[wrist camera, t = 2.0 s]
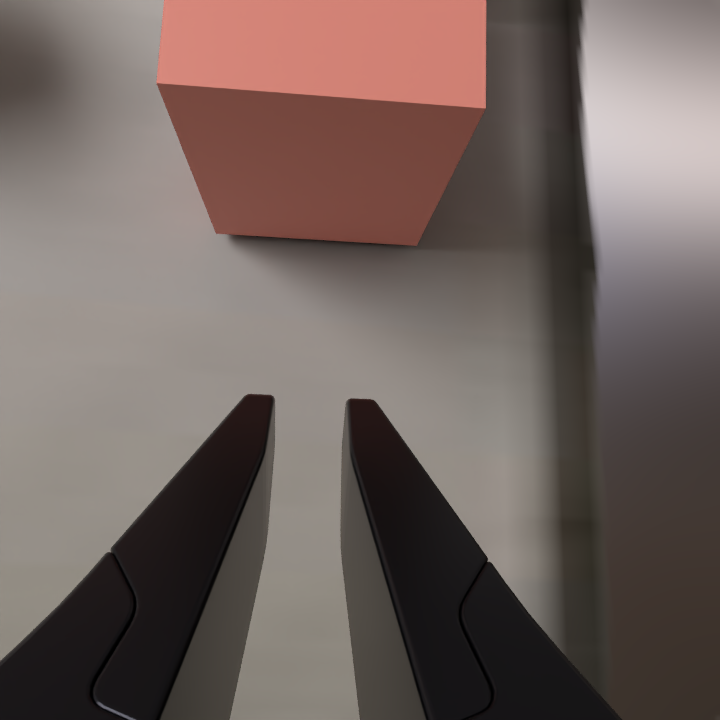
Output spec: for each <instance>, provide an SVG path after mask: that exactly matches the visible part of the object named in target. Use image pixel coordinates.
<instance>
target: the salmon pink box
mask: <svg viewBox="0 0 720 720" xmlns="http://www.w3.org/2000/svg"><path fill="white" fill-rule="evenodd" d="M157 85H158V88H159V90H160V93H161V96H162V98H163V101H164V103H165V106H166V108H167V111H168V113H169V116H170V118H171V121H172V123H173V126H174V128H175V131H176V133H177V136H178V138H179V141H180V144H181V146H182V149H183V151H184V154H185V156H186V159H187V161H188V164H189V166H190V169H191V171H192V174H193V176H194V179H195V181H196V184H197V186H198V189H199V192H200V194H201V197H202V199H203V202H204V204H205V207H206V209H207V212H208V214H209V217H210V219H211V222H212V224H213V227H214V229H215V232H216V234H232V235H249V236H265V237H281V238H298V239H314V240H331V241H347V242H363V243H380V244H396V245H413V246H417V244H418V242H419V240H420V238H421V236H422V234H423V232H424V230H425V228H426V226H427V224H428V222H429V220H430V218H431V216H432V214H433V212H434V210H435V208H436V206H437V204H438V203H439V201H440V199H441V197H442V195H443V193H444V191H445V189H446V187H447V185H448V183H449V181H450V179H451V177H452V175H453V173H454V171H455V169H456V167H457V165H458V163H459V161H460V159H461V157H462V155H463V153H464V151H465V149H466V147H467V145H468V143H469V141H470V139H471V137H472V135H473V133H474V131H475V129H476V127H477V125H478V123H479V121H480V119H481V117H482V115H483V113H484V111H485V109H486V0H164V8H163V19H162V30H161V41H160V51H159V62H158V73H157Z"/></svg>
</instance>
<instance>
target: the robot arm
mask: <svg viewBox="0 0 720 720" xmlns="http://www.w3.org/2000/svg"><path fill="white" fill-rule="evenodd" d="M274 448H275V398H274V397H273V396H272V395H261V394H247V395H246V396H244V397H243V398H242V400H241V401H240V402H239V403H238V404H237V405H236V406H235V408H234V409H233V410H232V411H231V412H230V413H229V414H228V416H227V417H226V418H225V419H224V420H223V421H222V422H221V423H220V425H219V426H218V427H217V428H216V429H215V430H214V431H213V433H212V434H211V435H210V436H209V437H208V438H207V439H206V441H205V442H204V443H203V444H202V445H201V446H200V447H199V449H198V450H197V451H196V452H195V453H194V454H193V455H192V456H191V458H190V459H189V460H188V461H187V462H186V463H185V464H184V466H183V467H182V468H181V469H180V470H179V471H178V472H177V474H176V475H175V476H174V477H173V478H172V479H171V480H170V482H169V483H168V484H167V485H166V486H165V487H164V488H163V489H162V491H161V492H160V493H159V494H158V495H157V496H156V497H155V499H154V500H153V501H152V502H151V503H150V504H149V505H148V507H147V508H146V509H145V510H144V511H143V512H142V513H141V515H140V516H139V517H138V518H137V519H136V520H135V521H134V522H133V524H132V525H131V526H130V527H129V528H128V529H127V530H126V532H125V533H124V534H123V535H122V536H121V537H120V538H119V540H118V541H117V542H116V543H115V544H114V545H113V546H112V548H111V552H107V553H106V554H105V555H104V556H103V557H102V558H101V560H100V561H99V562H98V563H97V564H96V565H95V567H94V568H93V569H92V570H91V571H90V572H89V573H88V574H87V576H86V577H85V578H84V579H83V580H82V581H81V582H80V583H79V584H78V585H77V586H76V587H75V588H74V590H73V591H72V592H71V593H70V594H69V595H68V596H67V597H66V598H65V599H64V600H63V601H62V602H61V603H60V605H59V606H58V607H57V608H55V609H54V610H53V611H52V612H51V613H50V614H49V615H48V616H47V617H46V618H45V619H44V620H43V621H42V622H41V623H40V624H39V625H38V626H37V627H36V628H35V629H34V630H33V631H32V632H31V633H30V634H29V635H28V636H27V637H26V638H24V639H23V640H22V641H21V642H20V643H19V644H18V645H17V646H16V647H15V648H14V649H13V650H12V651H11V652H9V653H8V654H7V655H6V656H5V657H4V658H3V659H2V660H1V661H0V720H229V719H230V715H231V710H232V705H233V701H234V696H235V691H236V686H237V682H238V677H239V672H240V668H241V663H242V658H243V654H244V649H245V644H246V639H247V635H248V630H249V625H250V621H251V616H252V611H253V607H254V602H255V597H256V592H257V588H258V583H259V578H260V574H261V569H262V564H263V560H264V554H265V548H266V542H267V534H268V523H269V511H270V498H271V486H272V474H273V461H274ZM341 555H342V566H343V574H344V583H345V592H346V601H347V610H348V619H349V627H350V636H351V645H352V654H353V663H354V671H355V680H356V689H357V698H358V707H359V715H360V720H622V719H621V718H620V717H619V716H618V714H617V713H616V712H615V711H614V710H613V709H612V708H611V707H610V705H609V704H608V703H607V702H606V701H605V700H604V699H603V698H602V696H601V695H600V694H599V693H598V692H597V691H596V690H595V689H594V688H593V686H592V685H591V684H590V683H589V682H588V681H587V680H586V679H585V677H584V676H583V675H582V674H581V673H580V672H579V671H578V670H577V668H576V667H575V666H574V665H573V664H572V663H571V662H570V661H569V660H568V658H567V657H566V656H565V655H564V654H563V653H562V652H561V651H560V649H559V648H558V647H557V646H556V645H555V644H554V642H553V641H552V640H551V639H550V638H549V637H548V635H547V634H546V633H545V632H544V631H543V630H542V628H541V627H540V626H539V625H538V624H537V622H536V621H535V620H534V619H533V618H532V617H531V615H530V614H529V613H528V612H527V610H526V609H525V608H524V606H523V605H522V604H521V602H520V601H519V600H518V598H517V597H516V596H515V594H514V593H513V592H512V591H511V589H510V588H509V587H508V585H507V584H506V583H505V581H504V580H503V578H502V577H501V576H500V574H499V573H498V571H497V570H496V568H495V567H494V566H493V564H492V563H491V562H487V561H488V558H487V556H486V555H485V553H484V552H483V551H482V549H481V548H480V546H479V545H478V544H477V542H476V541H475V539H474V538H473V537H472V535H471V534H470V532H469V531H468V530H467V528H466V527H465V525H464V524H463V523H462V521H461V520H460V519H459V517H458V516H457V514H456V513H455V512H454V510H453V509H452V507H451V506H450V505H449V503H448V502H447V500H446V499H445V498H444V496H443V495H442V493H441V492H440V491H439V489H438V488H437V486H436V485H435V484H434V482H433V481H432V479H431V478H430V477H429V475H428V474H427V472H426V471H425V470H424V468H423V467H422V465H421V464H420V463H419V461H418V460H417V458H416V457H415V456H414V454H413V453H412V451H411V450H410V449H409V447H408V446H407V444H406V443H405V442H404V440H403V439H402V437H401V436H400V435H399V433H398V432H397V430H396V429H395V428H394V426H393V425H392V424H391V422H390V421H389V419H388V418H387V417H386V415H385V414H384V412H383V411H382V410H381V408H380V407H379V405H378V404H377V403H376V402H375V401H374V400H371V399H352V398H351V399H348V400H347V402H346V407H345V417H344V429H343V440H342V469H341Z"/></svg>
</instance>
